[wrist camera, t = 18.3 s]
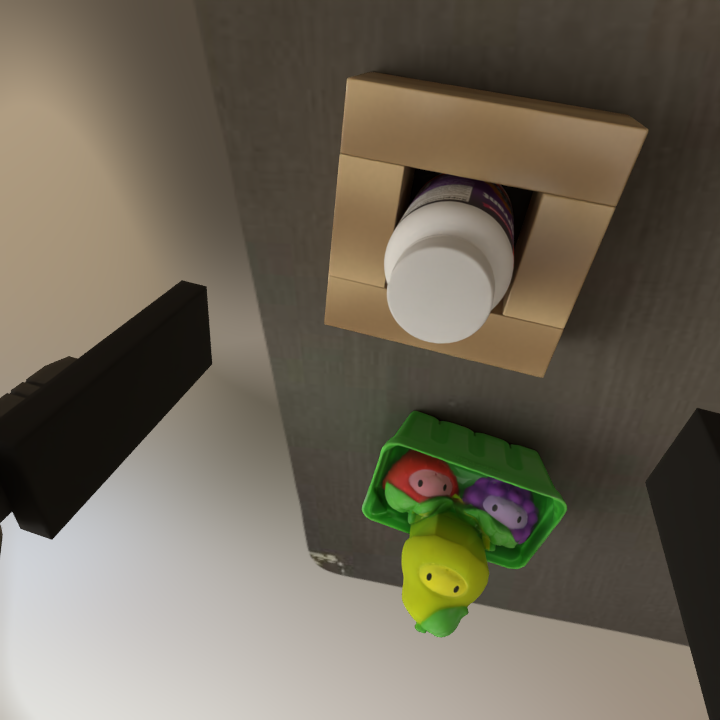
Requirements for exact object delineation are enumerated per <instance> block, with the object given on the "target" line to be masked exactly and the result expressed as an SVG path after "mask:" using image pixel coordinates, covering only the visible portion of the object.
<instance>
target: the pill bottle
mask: <svg viewBox="0 0 720 720" xmlns="http://www.w3.org/2000/svg"><path fill="white" fill-rule="evenodd" d="M513 268H514V215H513V209H512V205H511V202H510V199H509V197H508V195H507V193H506V191H505V190H504V188H503V187H502V186H501V185H500V184H495V183H490V182H485V181H480V180H475V179H469V178H464V177H459V176H454V175H449V174H444V173H440V174H439V175H437V176H435V177H433V178H432V179H431V180H429V181H428V182H427V183H426V184H425V185H424V186H423V187H422V188H421V189H420V191H419V192H418V193H417V195H416V196H415V198H414V200H413V201H412V203H411V204H410V206H409V207H408V209H407V211H406V212H405V214H404V215H403V217H402V219H401V220H400V222H399V223H398V225H397V227H396V228H395V230H394V231H393V233H392V236H391V238H390V240H389V242H388V245H387V248H386V252H385V258H384V271H385V277H386V281H387V284H388V285H387V301H388V305H389V309H390V311H391V313H392V315H393V317H394V319H395V320H396V322H397V323H398V324H399V325H400V326H401V327H402V328H403V329H404V330H405V331H406V332H408V333H409V334H410V335H412V336H414V337H416V338H418V339H420V340H423V341H427V342H431V343H438V344H439V343H453V342H457V341H460V340H463V339H465V338H467V337H469V336H471V335H472V334H474V333H475V332H476V331H477V330H479V329H480V328H481V326H482V325H483V324H484V323H485V321H486V320H487V318H488V316H489V314H490V312H491V310H492V309H493V308H494V307H495V306H496V305H497V304H498V303H499V302H500V300H501V299H502V298H503V296H504V295H505V293H506V291H507V289H508V287H509V284H510V281H511V278H512V273H513Z"/></svg>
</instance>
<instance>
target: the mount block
mask: <svg viewBox="0 0 720 720" xmlns="http://www.w3.org/2000/svg"><path fill="white" fill-rule="evenodd" d="M647 134H648V129H647V128H646V127H644V126H643V125H641V124H640V123H639V122H637V121H636V120H635V119H633V118H632V117H631V116H629V115H626V114H620V113H614V112H608V111H602V110H596V109H591V108H585V107H579V106H573V105H567V104H561V103H555V102H549V101H543V100H537V99H531V98H525V97H519V96H513V95H507V94H501V93H496V92H490V91H484V90H478V89H472V88H466V87H460V86H454V85H448V84H442V83H436V82H430V81H424V80H418V79H412V78H407V77H401V76H395V75H389V74H383V73H377V72H368V73H364V74H360V75H357V76H353V77H350V78H348V79H347V85H346V96H345V107H344V117H343V128H342V139H341V150H340V152H341V154H340V158H339V169H338V179H337V190H336V201H335V212H334V222H333V233H332V244H331V255H330V265H329V277H328V288H327V299H326V310H325V320H324V324H326V325H330V326H334V327H338V328H342V329H346V330H350V331H354V332H358V333H363V334H367V335H371V336H375V337H379V338H383V339H387V340H391V341H395V342H399V343H403V344H407V345H411V346H415V347H419V348H423V349H427V350H431V351H436V352H440V353H444V354H448V355H452V356H456V357H460V358H464V359H468V360H472V361H476V362H480V363H484V364H488V365H492V366H496V367H500V368H504V369H509V370H513V371H517V372H521V373H525V374H529V375H533V376H537V377H541V378H543V377H544V374H545V372H546V370H547V367H548V365H549V363H550V360H551V358H552V356H553V353H554V351H555V349H556V346H557V344H558V342H559V339H560V337H561V335H562V332H563V328H564V327H565V325H566V323H567V320H568V318H569V316H570V313H571V311H572V309H573V306H574V304H575V302H576V299H577V297H578V295H579V292H580V290H581V288H582V285H583V283H584V281H585V278H586V276H587V274H588V271H589V269H590V267H591V264H592V262H593V260H594V257H595V255H596V253H597V250H598V248H599V246H600V243H601V241H602V239H603V236H604V234H605V232H606V229H607V227H608V225H609V222H610V220H611V218H612V215H613V213H614V211H615V207H614V206H616V205H617V204H618V201H619V199H620V197H621V194H622V192H623V190H624V187H625V185H626V183H627V180H628V178H629V176H630V173H631V171H632V169H633V166H634V164H635V162H636V159H637V157H638V155H639V152H640V150H641V148H642V145H643V143H644V141H645V138H646V136H647ZM415 168H418V169H423V170H428V171H433V172H439V173H444V174H449V175H454V176H459V177H464V178H469V179H475V180H480V181H485V182H490V183H495V184H500V185H505V186H511V187H516V188H521V189H526V190H531V191H533V193H532V196H531V200H530V203H529V206H528V209H527V212H526V215H525V218H524V221H523V224H522V227H521V231H520V234H519V237H518V240H517V243H516V246H515V249H514V268H513V273H512V278H511V281H510V284H509V287H508V289H507V291H506V293H505V295H504V296H503V298H502V299H501V300H500V302H499V303H498V304H497V305H496V306H495V307H494V308H493V309H492V310H491V312H490V314H489V316H488V318H487V320H486V321H485V323H484V324H483V325H482V326H481V328H480V329H479V330H477V331H476V332H475V333H474V334H472V335H471V336H469V337H467V338H465V339H463V340H460V341H457V342H453V343H439V344H438V343H431V342H427V341H423V340H420V339H418V338H416V337H414V336H412V335H410V334H409V333H408V332H406V331H405V330H404V329H403V328H402V327H401V326H400V325H399V324H398V323H397V322H396V320H395V319H394V317H393V315H392V313H391V311H390V309H389V305H388V301H387V285H388V284H387V281H386V277H385V271H384V258H385V252H386V248H387V245H388V242H389V240H390V238H391V236H392V233H393V231H394V230H395V228H396V227H397V225H398V223H399V222H400V220H401V219H402V217H403V215H404V214H405V212H406V211H407V209H408V207H409V201H410V196H411V190H412V185H413V179H414V174H415Z"/></svg>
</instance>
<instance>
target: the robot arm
mask: <svg viewBox="0 0 720 720" xmlns="http://www.w3.org/2000/svg"><path fill="white" fill-rule="evenodd" d="M206 288H207V287H206V286H203V285H198V284H194V283H190V282H186V281H181V282H179V283H178V284H176V285H175V286H174V287H172V288H171V289H170V290H169V291H167V292H166V293H165V294H163V295H162V296H161V297H159V298H158V299H157V300H156V301H154V302H153V303H151V304H150V305H149V306H148V307H146V308H145V309H143V310H142V311H141V312H139V313H138V314H137V315H135V316H134V317H133V318H131V319H130V320H129V321H127V322H126V323H125V324H123V325H122V326H121V327H119V328H118V329H117V330H116V331H114V332H113V333H112V334H110V335H109V336H107V337H106V338H105V339H103V340H102V341H101V342H99V343H98V344H97V345H96V346H94V347H93V348H92V349H90V350H89V351H88V352H87V353H85V354H84V355H82V356H81V357H80V358H78V359H77V358H73V357H70V356H68V357H66V358H64V359H61V360H58V361H56V362H54V363H51V364H49V365H47V366H44V367H43V368H42V369H40V370H39V371H37V372H36V373H35V374H33V375H32V376H30V377H29V378H28V379H26V382H25V383H24V382H22V383H21V384H19V385H18V386H16V387H15V388H14V389H12V390H11V393H10V394H8V393H7V394H5V395H4V396H2V397H1V398H0V523H1V522H2V521H3V520H4V519H5V518H6V517H7V516H8V515H9V514H10V513H11V512H13V514H14V516H15V518H16V520H17V522H18V524H19V527H20V528H21V529H23V530H26V531H29V532H31V533H34V534H37V535H40V536H43V537H46V538H49V539H53V538H54V537H55V536H56V535H57V534H58V533H59V531H60V530H61V529H62V528H63V527H64V526H65V525H66V524H67V523H68V522H69V520H70V519H71V518H72V517H73V516H74V515H75V514H76V513H77V512H78V511H79V509H80V508H81V507H82V506H83V505H84V504H85V503H86V502H87V501H88V500H89V499H90V497H91V496H92V495H93V494H94V493H95V492H96V491H97V490H98V489H99V488H100V487H101V485H102V484H103V483H104V482H105V481H106V480H107V479H108V478H109V477H110V476H111V474H112V473H113V472H114V471H115V470H116V469H117V468H118V467H119V466H120V465H121V463H122V462H123V461H124V460H125V459H126V458H127V457H128V456H129V455H130V454H131V453H132V451H133V450H134V449H135V448H136V447H137V446H138V445H139V444H140V443H141V441H142V440H143V439H144V438H145V437H146V436H147V435H148V434H149V433H150V432H151V431H152V429H153V428H154V427H155V426H156V425H157V424H158V423H159V422H160V421H161V420H162V418H163V417H164V416H165V415H166V414H167V413H168V412H169V411H170V410H171V409H172V407H173V406H174V405H175V404H176V403H177V402H178V401H179V400H180V398H182V397H183V395H184V394H185V393H186V392H187V391H188V390H189V389H190V388H191V387H192V386H193V384H194V383H195V382H196V381H197V380H198V379H199V378H200V377H201V376H202V375H203V374H204V372H205V371H206V370H207V369H208V368H209V367H210V366H211V365H212V355H211V342H210V328H209V315H208V301H207V289H206ZM645 483H646V487H647V490H648V494H649V498H650V501H651V505H652V509H653V513H654V516H655V520H656V524H657V527H658V531H659V535H660V539H661V542H662V546H663V550H664V553H665V557H666V561H667V564H668V568H669V572H670V576H671V579H672V583H673V587H674V590H675V594H676V598H677V601H678V605H679V609H680V613H681V616H682V620H683V624H684V627H685V631H686V635H687V638H688V642H689V646H690V650H691V653H692V657H693V661H694V664H695V668H696V671H697V675H698V679H699V682H700V686H701V690H702V694H703V697H704V701H705V705H706V709H707V713H708V716H709V720H720V414H719V413H715V412H711V411H707V410H703V409H699V408H697V409H696V410H695V412H694V413H693V415H692V416H691V417H690V419H689V420H688V422H687V423H686V425H685V426H684V427H683V429H682V430H681V432H680V433H679V435H678V436H677V437H676V439H675V440H674V442H673V443H672V445H671V446H670V447H669V449H668V450H667V452H666V453H665V455H664V456H663V457H662V459H661V460H660V462H659V463H658V465H657V466H656V467H655V469H654V470H653V472H652V473H651V475H650V476H649V477H648V479H647V480H646V482H645ZM2 535H3V534H2V529H1V525H0V553H1V544H2Z"/></svg>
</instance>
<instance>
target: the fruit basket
mask: <svg viewBox="0 0 720 720" xmlns="http://www.w3.org/2000/svg"><path fill="white" fill-rule="evenodd" d="M362 511H363V513H364V515H365V516H366V517H367V518H369V519H370V520H373V521H375V522H378V523H381V524H384V525H387V526H389V527H392V528H395V529H397V530H400V531H403V532H406V533H408V534H410V537H409V539H407V540H406V542H405V544H404V547H403V551H402V571H403V576H404V584H403V589H402V601H403V603H404V605H405V607H406V609H407V611H408V612H409V614H410V615H411V616H412V617H413V619H414V620H415V621H416V625H415V629H416V630H417V631H419V632H422V633H426V631H428V632H429V633H432V634H433V635H434V636H437V637H445V636H448V635H450V634H451V633H453V632H454V630H455V629H456V628H457V626H458V624H459V622H460V620H461V619H462V618H463V617H464V616H465V615H467V614H468V609H467V607H468V605H470V604H471V603H472V602H474V601H475V599H477V598H478V597H479V596H480V594H481V593H482V592H483V590H484V588H485V586H486V585H487V582H488V577H489V570H488V565H487V561H488V562H491V563H494V564H497V565H500V566H503V567H506V568H510V569H518V568H521V567H523V566H525V565H526V564H527V563H528V562H529V560H530V558H531V557H532V556H533V555H534V554H535V552H536V551H537V550H538V549H539V547H540V546H541V545H542V544H543V542H544V541H545V540H546V538H547V537H548V536H549V535H550V533H551V532H552V530H553V529H554V528H555V526H556V525H557V524H558V523H559V522H560V520H561V519H562V517H563V516H564V514H565V513H566V511H567V505H566V503H565V501H564V500H563V498H562V496H561V495H560V493H559V492H558V491H557V490H556V489H555V487H554V485H553V483H552V481H551V479H550V477H549V475H548V473H547V471H546V469H545V467H544V464H543V462H542V460H541V458H540V456H539V454H538V452H537V451H535V450H532V449H528V448H525V447H522V446H520V445H513V444H511V445H509V444H508V443H507V442H505V441H504V440H502V439H499V438H496V437H493V436H490V435H487V434H484V433H474V432H473V431H471V430H470V429H468V428H466V427H463V426H460V425H457V424H454V423H451V422H446V421H439V420H438V419H436V418H434V417H432V416H430V415H427V414H424V413H421V412H418V411H413V412H411V414H410V415H409V416H408V418H407V419H406V420H405V422H404V423H403V424H402V426H401V427H400V429H399V430H398V431H397V433H396V434H395V435H394V437H392V438H391V439H389V440H388V441H387V443H386V444H385V445H384V446H383V448H382V450H381V453H380V456H379V460H378V463H377V466H376V469H375V472H374V475H373V478H372V481H371V484H370V487H369V489H368V492H367V495H366V498H365V500H364V503H363V505H362Z"/></svg>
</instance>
